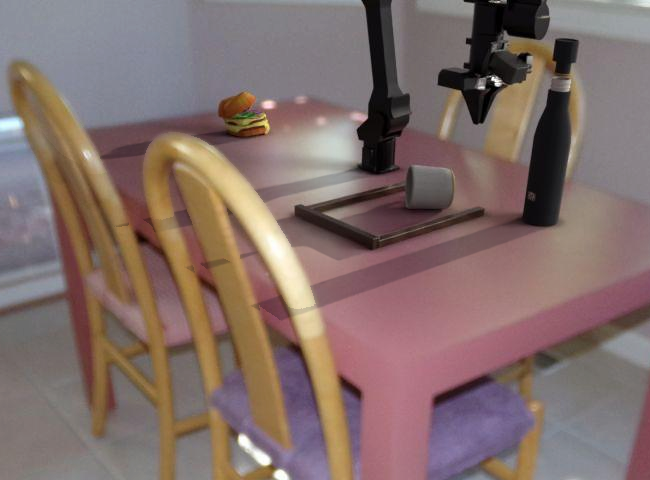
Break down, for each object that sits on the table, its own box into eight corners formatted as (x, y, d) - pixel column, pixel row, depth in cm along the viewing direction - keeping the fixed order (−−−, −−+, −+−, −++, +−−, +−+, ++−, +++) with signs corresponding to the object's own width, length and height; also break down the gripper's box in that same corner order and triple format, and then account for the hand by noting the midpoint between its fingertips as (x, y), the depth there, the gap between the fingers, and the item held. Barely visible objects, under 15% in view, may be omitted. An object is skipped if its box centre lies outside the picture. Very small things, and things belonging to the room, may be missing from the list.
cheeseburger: (267, 138, 181) (255, 94, 176) (223, 148, 182) (209, 104, 177) (273, 127, 190) (262, 84, 185) (230, 136, 191) (217, 93, 186)
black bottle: (560, 217, 145) (590, 39, 129) (555, 228, 140) (585, 44, 124) (525, 212, 146) (550, 35, 131) (518, 222, 141) (544, 40, 126)
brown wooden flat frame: (405, 186, 156) (406, 177, 155) (484, 214, 144) (485, 205, 143) (294, 215, 139) (294, 205, 138) (372, 249, 127) (373, 239, 126)
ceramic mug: (454, 214, 143) (458, 171, 140) (410, 214, 142) (413, 171, 138) (442, 196, 152) (445, 155, 149) (400, 196, 151) (402, 155, 147)
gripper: (489, 43, 130) (478, 140, 138) (556, 36, 141) (543, 126, 149) (439, 34, 136) (431, 127, 144) (507, 27, 148) (497, 114, 156)
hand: (478, 123), depth 148 cm, fingers closed
